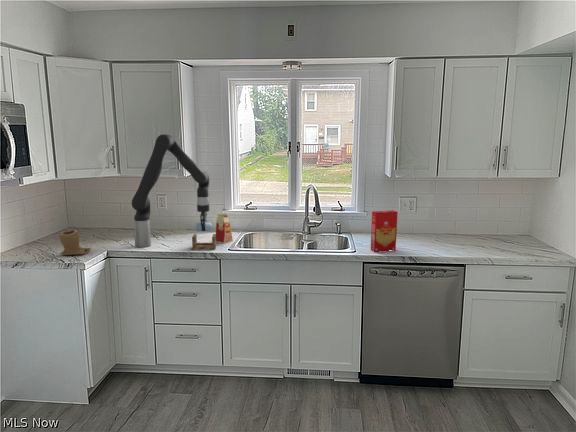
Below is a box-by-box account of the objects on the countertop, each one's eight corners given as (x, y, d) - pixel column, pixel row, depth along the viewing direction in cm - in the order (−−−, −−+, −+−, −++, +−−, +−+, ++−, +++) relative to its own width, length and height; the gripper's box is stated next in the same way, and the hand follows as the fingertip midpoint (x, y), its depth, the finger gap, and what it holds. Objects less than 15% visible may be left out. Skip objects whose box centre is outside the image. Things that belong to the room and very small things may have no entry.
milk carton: (233, 241, 300) (232, 212, 297) (224, 243, 292) (223, 214, 289) (222, 239, 305) (221, 211, 301) (213, 242, 297) (213, 213, 293)
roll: (196, 233, 278) (195, 225, 275) (197, 228, 283) (196, 221, 280) (211, 232, 279) (211, 225, 276) (212, 228, 284) (211, 221, 281)
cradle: (192, 249, 277) (192, 237, 276) (194, 246, 286) (193, 234, 284) (214, 249, 278) (214, 237, 277) (216, 245, 287) (215, 233, 286)
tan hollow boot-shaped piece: (57, 257, 258) (54, 232, 256) (66, 252, 270) (63, 228, 267) (83, 257, 259) (81, 232, 256) (91, 252, 271) (89, 228, 268)
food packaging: (374, 252, 273) (376, 212, 269) (370, 250, 278) (372, 211, 274) (395, 250, 277) (397, 211, 273) (391, 248, 282) (393, 210, 278)
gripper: (198, 202, 284) (199, 227, 287) (195, 205, 270) (196, 232, 273) (210, 202, 284) (211, 227, 287) (207, 205, 270) (208, 232, 273)
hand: (204, 229), depth 280 cm, fingers closed on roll, 5 cm apart
